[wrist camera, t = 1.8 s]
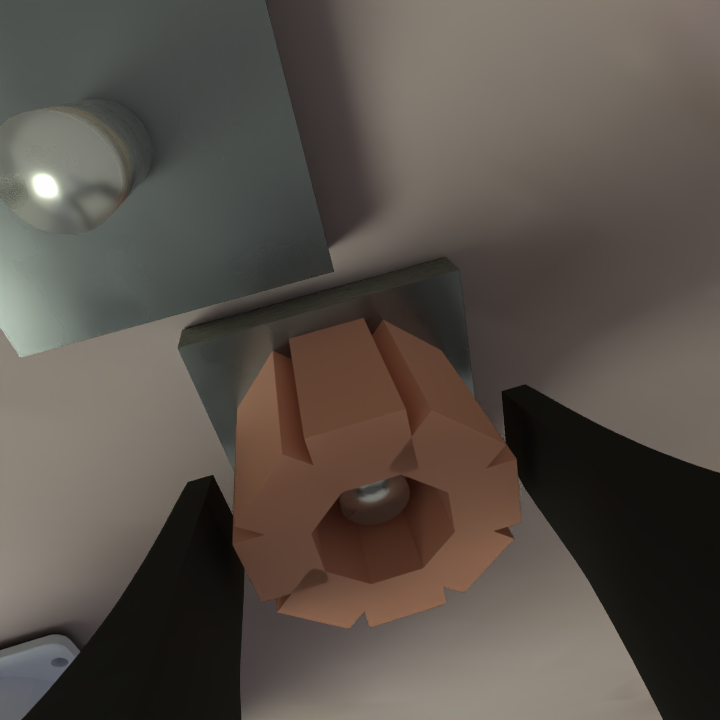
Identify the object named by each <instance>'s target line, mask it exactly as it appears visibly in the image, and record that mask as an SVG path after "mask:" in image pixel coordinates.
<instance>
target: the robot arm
mask: <svg viewBox="0 0 720 720" xmlns="http://www.w3.org/2000/svg"><path fill="white" fill-rule="evenodd" d="M502 402H503V413H504V425H505V437H506V444H507V446H508V447H509V449H510V450H511V452H512V453H513V455H514V456H515V457H516V459H517V470H518V476H519V478H520V480H521V482H522V484H523V485H524V487H525V489H526V490H527V492H528V493H529V495H530V496H531V498H532V499H533V501H534V502H535V504H536V505H537V506H538V508H539V509H540V511H541V512H542V514H543V515H544V516H545V518H546V519H547V521H548V522H549V524H550V525H551V526H552V528H553V529H554V531H555V532H556V534H557V535H558V536H559V538H560V539H561V541H562V542H563V543H564V545H565V546H566V548H567V549H568V551H569V552H570V553H571V555H572V556H573V558H574V559H575V560H576V562H577V563H578V565H579V566H580V568H581V570H582V571H583V573H584V574H585V576H586V577H587V579H588V581H589V582H590V584H591V586H592V588H593V589H594V591H595V593H596V595H597V596H598V598H599V600H600V602H601V603H602V605H603V607H604V609H605V610H606V612H607V614H608V616H609V618H610V619H611V621H612V623H613V625H614V627H615V629H616V630H617V632H618V634H619V636H620V638H621V640H622V641H623V643H624V645H625V647H626V649H627V651H628V653H629V654H630V656H631V658H632V660H633V662H634V664H635V666H636V668H637V670H638V672H639V673H640V675H641V677H642V679H643V681H644V683H645V685H646V687H647V689H648V691H649V693H650V695H651V697H652V699H653V701H654V702H655V704H656V706H657V708H658V710H659V712H660V714H661V716H662V718H663V720H720V473H718V472H715V471H712V470H708V469H705V468H702V467H699V466H696V465H693V464H690V463H688V462H685V461H682V460H680V459H677V458H674V457H672V456H669V455H666V454H664V453H661V452H658V451H656V450H654V449H651V448H649V447H646V446H644V445H642V444H639V443H637V442H635V441H633V440H631V439H628V438H626V437H624V436H622V435H620V434H617V433H615V432H613V431H611V430H609V429H607V428H605V427H603V426H601V425H599V424H597V423H595V422H593V421H591V420H589V419H587V418H585V417H583V416H582V415H580V414H578V413H576V412H574V411H572V410H570V409H569V408H567V407H565V406H563V405H561V404H560V403H558V402H556V401H554V400H553V399H551V398H549V397H547V396H545V395H544V394H542V393H540V392H538V391H537V390H535V389H533V388H531V387H529V386H527V385H526V384H525V385H521V386H518V387H515V388H511V389H508V390H504V391H502ZM232 543H233V515H232V513H231V511H230V509H229V507H228V505H227V502H226V500H225V498H224V496H223V494H222V492H221V490H220V488H219V486H218V484H217V482H216V480H215V478H214V476H213V475H211V476H207V477H204V478H200V479H197V480H194V481H190V482H188V483H187V485H186V486H185V488H184V490H183V491H182V493H181V495H180V497H179V499H178V501H177V502H176V504H175V506H174V508H173V510H172V512H171V514H170V515H169V517H168V519H167V521H166V523H165V525H164V526H163V528H162V530H161V532H160V534H159V535H158V537H157V539H156V541H155V542H154V544H153V546H152V548H151V549H150V551H149V553H148V555H147V556H146V558H145V560H144V561H143V563H142V565H141V566H140V568H139V570H138V571H137V573H136V574H135V576H134V577H133V579H132V581H131V582H130V584H129V585H128V587H127V588H126V590H125V592H124V593H123V595H122V596H121V598H120V599H119V601H118V602H117V604H116V605H115V607H114V608H113V609H112V611H111V612H110V614H109V615H108V617H107V618H106V619H105V621H104V622H103V623H102V625H101V626H100V627H99V629H98V630H97V631H96V633H95V634H94V635H93V637H92V638H91V639H90V641H89V642H88V643H87V644H86V646H85V647H84V648H83V649H82V651H81V652H80V650H79V649H78V648H77V647H76V646H75V645H74V644H73V643H72V641H71V640H70V639H69V638H67V637H66V636H63V635H57V634H54V635H48V636H45V637H42V638H39V639H35V640H32V641H29V642H25V643H22V644H19V645H16V646H12V647H9V648H6V649H2V650H0V720H241V702H240V658H241V638H242V618H243V597H244V566H243V564H242V562H241V560H240V558H239V557H238V555H237V553H236V551H235V549H234V547H233V545H232Z"/></svg>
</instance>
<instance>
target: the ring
mask: <svg viewBox="0 0 720 720" xmlns="http://www.w3.org/2000/svg"><path fill="white" fill-rule="evenodd" d="M289 344H290V350H291V356H292V359H290V358H288V357H286V356H283V355H281V354H279V353H277V352H275V351H272V353H271V354H270V356H269V357H268V359H267V361H266V362H265V364H264V366H263V367H262V369H261V371H260V372H259V374H258V376H257V377H256V379H255V381H254V382H253V384H252V386H251V387H250V389H249V390H248V392H247V394H246V395H245V397H244V399H243V400H242V402H241V404H240V405H239V407H238V409H237V425H236V442H235V476H234V510H233V543H232V545H233V547H234V549H235V551H236V553H237V555H238V557H239V558H240V560H241V562H242V564H243V566H244V568H245V570H246V572H247V574H248V576H249V578H250V580H251V582H252V584H253V586H254V588H255V590H256V592H257V594H258V596H259V598H260V600H261V602H265V601H268V600H272V599H275V598H276V605H277V613H281V614H286V615H290V616H295V617H299V618H303V619H308V620H312V621H317V622H321V623H325V624H330V625H334V626H339V627H343V628H347V629H350V627H351V626H352V625H353V624H354V623H355V621H356V620H357V619H358V618H359V617H360V616H361V614H362V613H363V612H365V615H366V618H367V621H368V624H369V626H370V627H373V626H376V625H380V624H383V623H386V622H389V621H392V620H396V619H399V618H402V617H405V616H408V615H411V614H415V613H418V612H421V611H424V610H427V609H431V608H434V607H437V606H440V605H443V604H446V599H445V594H444V590H443V587H446V588H449V589H453V590H456V591H460V592H463V593H464V592H465V591H466V590H467V589H468V588H469V587H470V586H471V585H472V584H473V583H474V582H475V581H476V579H477V578H478V577H479V576H480V575H481V574H482V573H483V572H484V571H485V570H486V569H487V568H488V567H489V566H490V564H491V563H492V562H493V561H494V560H495V559H496V558H497V557H498V556H499V555H500V554H501V553H502V552H503V551H504V549H505V548H506V547H507V546H508V545H509V544H510V543H511V542H512V541H513V540H514V537H513V536H512V534H511V532H510V530H509V529H508V526H512V525H515V524H518V523H521V511H520V497H519V484H518V470H517V459H516V457H515V456H514V455H513V453H512V452H511V450H510V449H509V447H508V446H507V444H506V443H505V441H504V440H503V439H502V437H501V436H500V434H499V433H498V431H497V430H496V428H495V427H494V426H493V424H492V423H491V421H490V420H489V418H488V417H487V415H486V414H485V412H484V411H483V410H482V408H481V407H480V405H479V404H478V402H477V401H476V399H475V398H474V396H473V395H472V394H471V392H470V391H469V389H468V388H467V386H466V385H465V383H464V382H463V381H462V379H461V378H460V376H459V375H458V373H457V372H456V370H455V369H454V367H453V366H452V365H451V363H450V362H449V361H448V359H447V358H446V356H445V355H444V353H443V352H442V351H441V350H440V349H438V348H436V347H434V346H432V345H430V344H428V343H426V342H425V341H423V340H421V339H419V338H417V337H415V336H413V335H411V334H409V333H407V332H406V331H404V330H402V329H400V328H398V327H396V326H394V325H392V324H390V323H389V322H387V321H385V320H382V322H381V323H380V325H379V326H378V328H377V329H376V331H375V332H374V334H373V335H371V333H370V331H369V329H368V326H367V324H366V322H365V320H364V318H361V319H358V320H354V321H351V322H347V323H343V324H340V325H336V326H333V327H329V328H326V329H322V330H318V331H315V332H311V333H308V334H304V335H301V336H297V337H294V338H290V339H289ZM398 475H404V476H405V478H406V481H407V483H408V486H409V490H410V496H409V500H408V503H407V505H406V506H405V508H404V509H403V510H402V511H401V512H400V513H399V514H398V515H397V516H395V517H394V518H392V519H390V520H388V521H386V522H383V523H380V524H375V525H362V524H358V523H355V522H352V521H351V520H349V519H348V518H347V517H346V516H345V515H344V514H343V512H342V510H341V507H340V502H339V496H340V494H341V493H342V492H345V491H348V490H351V489H355V488H358V487H361V486H365V485H368V484H371V483H375V482H378V481H381V480H385V479H388V478H391V477H395V476H398Z"/></svg>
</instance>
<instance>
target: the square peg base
mask: <svg viewBox="0 0 720 720" xmlns="http://www.w3.org/2000/svg"><path fill="white" fill-rule="evenodd" d="M331 272H334V269H333V265H332V261H331V257H330V253H329V250H328V246H327V242H326V238H325V234H324V230H323V226H322V222H321V218H320V214H319V210H318V206H317V202H316V198H315V194H314V190H313V186H312V183H311V179H310V175H309V171H308V167H307V163H306V159H305V155H304V151H303V147H302V143H301V139H300V135H299V131H298V127H297V123H296V120H295V116H294V112H293V108H292V104H291V100H290V96H289V92H288V88H287V84H286V80H285V76H284V72H283V68H282V64H281V60H280V56H279V53H278V49H277V45H276V41H275V37H274V33H273V29H272V25H271V21H270V17H269V13H268V9H267V5H266V1H265V0H0V327H1V329H2V330H3V332H4V333H5V335H6V336H7V338H8V340H9V341H10V343H11V344H12V346H13V347H14V349H15V350H16V352H17V353H18V355H19V357H20V358H21V357H25V356H28V355H32V354H36V353H39V352H43V351H47V350H50V349H54V348H57V347H61V346H65V345H68V344H72V343H76V342H79V341H83V340H87V339H90V338H94V337H98V336H101V335H105V334H108V333H112V332H116V331H119V330H123V329H127V328H130V327H134V326H138V325H141V324H145V323H149V322H152V321H156V320H159V319H163V318H167V317H170V316H174V315H178V314H181V313H185V312H189V311H192V310H196V309H200V308H203V307H207V306H210V305H214V304H218V303H221V302H225V301H229V300H232V299H236V298H240V297H243V296H247V295H251V294H254V293H258V292H261V291H265V290H269V289H272V288H276V287H280V286H283V285H287V284H291V283H294V282H298V281H302V280H305V279H309V278H312V277H316V276H320V275H323V274H327V273H331Z"/></svg>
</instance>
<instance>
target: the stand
mask: <svg viewBox="0 0 720 720" xmlns="http://www.w3.org/2000/svg"><path fill="white" fill-rule="evenodd" d="M361 318H364V320H365V322H366V324H367V326H368V329H369V331H370V333H371V335H373V334H374V332H375V331H376V329H377V328H378V326H379V325H380V323H381V322H382V320H385V321H387V322H389V323H390V324H392V325H394V326H396V327H398V328H400V329H402V330H404V331H406V332H407V333H409V334H411V335H413V336H415V337H417V338H419V339H421V340H423V341H425V342H426V343H428V344H430V345H432V346H434V347H436V348H438V349H440V350H441V351H442V352H443V353H444V355H445V356H446V358H447V359H448V361H449V362H450V363H451V365H452V366H453V367H454V369H455V370H456V372H457V373H458V375H459V376H460V378H461V379H462V381H463V382H464V383H465V385H466V386H467V388H468V389H469V391H470V392H471V394H472V395H473V396H474V398H475V395H474V387H473V379H472V370H471V362H470V354H469V345H468V337H467V329H466V320H465V312H464V304H463V295H462V287H461V279H460V270H459V269H458V268H457V267H456V266H455V265H454V264H453V263H452V262H451V261H450V260H449V259H447V258H446V257H445V258H441V259H437V260H434V261H430V262H426V263H423V264H419V265H416V266H412V267H408V268H405V269H401V270H398V271H394V272H390V273H387V274H383V275H379V276H376V277H372V278H369V279H365V280H361V281H358V282H354V283H350V284H347V285H343V286H340V287H336V288H332V289H329V290H325V291H322V292H318V293H314V294H311V295H307V296H303V297H300V298H296V299H293V300H289V301H285V302H282V303H278V304H274V305H271V306H267V307H264V308H260V309H256V310H253V311H249V312H245V313H242V314H238V315H235V316H231V317H227V318H224V319H220V320H217V321H213V322H209V323H206V324H202V325H198V326H195V327H191V328H188V329H184V330H182V333H181V337H180V341H179V345H178V350H179V352H180V354H181V357H182V359H183V361H184V363H185V365H186V367H187V370H188V372H189V374H190V376H191V378H192V381H193V383H194V385H195V387H196V389H197V391H198V394H199V396H200V398H201V400H202V402H203V405H204V407H205V409H206V411H207V413H208V416H209V418H210V420H211V422H212V424H213V426H214V429H215V431H216V433H217V435H218V437H219V440H220V442H221V444H222V446H223V448H224V450H225V453H226V455H227V457H228V459H229V461H230V464H231V466H232V468H233V470H234V472H235V442H236V425H237V409H238V407H239V405H240V404H241V402H242V400H243V399H244V397H245V395H246V394H247V392H248V390H249V389H250V387H251V386H252V384H253V382H254V381H255V379H256V377H257V376H258V374H259V372H260V371H261V369H262V367H263V366H264V364H265V362H266V361H267V359H268V357H269V356H270V354H271V353H272V351H275V352H277V353H279V354H281V355H283V356H286V357H288V358H290V359H292V356H291V350H290V344H289V339H290V338H294V337H297V336H301V335H304V334H308V333H311V332H315V331H318V330H322V329H326V328H329V327H333V326H336V325H340V324H343V323H347V322H351V321H354V320H358V319H361ZM409 496H410V490H409V486H408V483H407V481H406V478H405V476H404V475H398V476H395V477H391V478H388V479H385V480H381V481H378V482H375V483H371V484H368V485H365V486H361V487H358V488H355V489H351V490H348V491H345V492H342V493H341V494H340V496H339V502H340V507H341V510H342V512H343V514H344V515H345V516H346V517H347V518H348V519H349V520H351V521H352V522H355V523H358V524H362V525H375V524H380V523H383V522H386V521H388V520H390V519H392V518H394V517H395V516H397V515H398V514H399V513H400V512H401V511H402V510H403V509H404V508H405V506H406V505H407V503H408V500H409Z"/></svg>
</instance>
